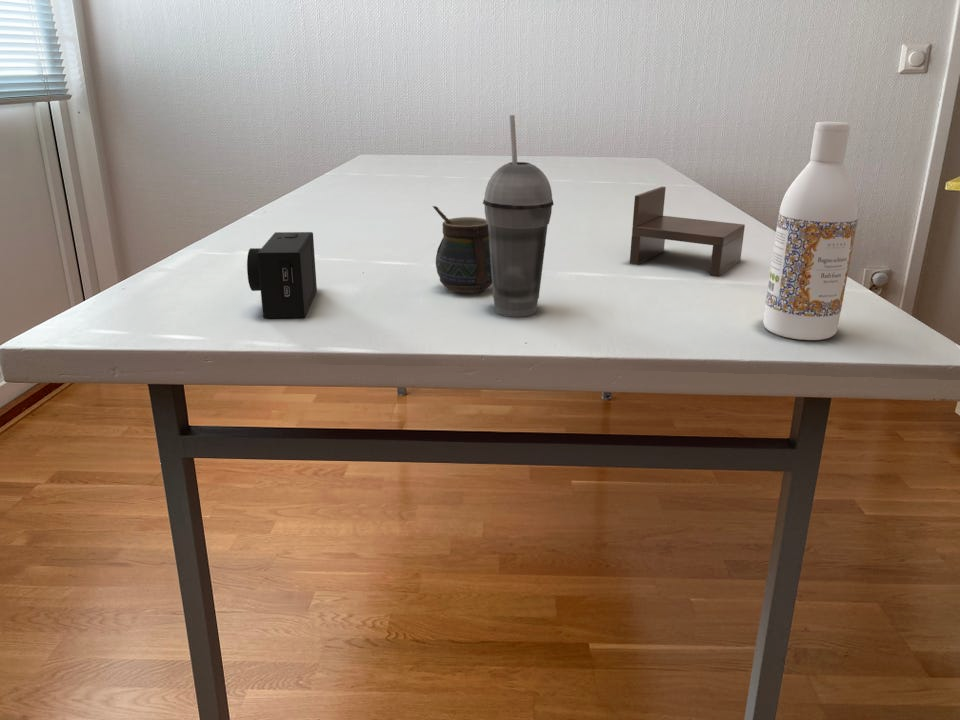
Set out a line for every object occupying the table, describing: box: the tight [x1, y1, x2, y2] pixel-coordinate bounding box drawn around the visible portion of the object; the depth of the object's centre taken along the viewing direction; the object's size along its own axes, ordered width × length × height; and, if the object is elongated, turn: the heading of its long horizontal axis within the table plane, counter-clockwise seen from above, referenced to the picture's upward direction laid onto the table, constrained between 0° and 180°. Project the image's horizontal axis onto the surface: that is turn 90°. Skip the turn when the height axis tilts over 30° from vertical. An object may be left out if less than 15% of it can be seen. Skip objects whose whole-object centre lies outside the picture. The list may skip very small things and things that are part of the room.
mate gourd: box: [432, 205, 492, 294], centre depth 89 cm, size 7×8×10 cm
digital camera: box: [246, 231, 318, 319], centre depth 84 cm, size 10×5×7 cm, turn 4°
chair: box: [629, 186, 746, 277], centre depth 103 cm, size 12×10×9 cm
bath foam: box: [763, 121, 859, 341], centre depth 74 cm, size 7×7×20 cm
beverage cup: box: [482, 114, 554, 318], centre depth 80 cm, size 7×7×20 cm
